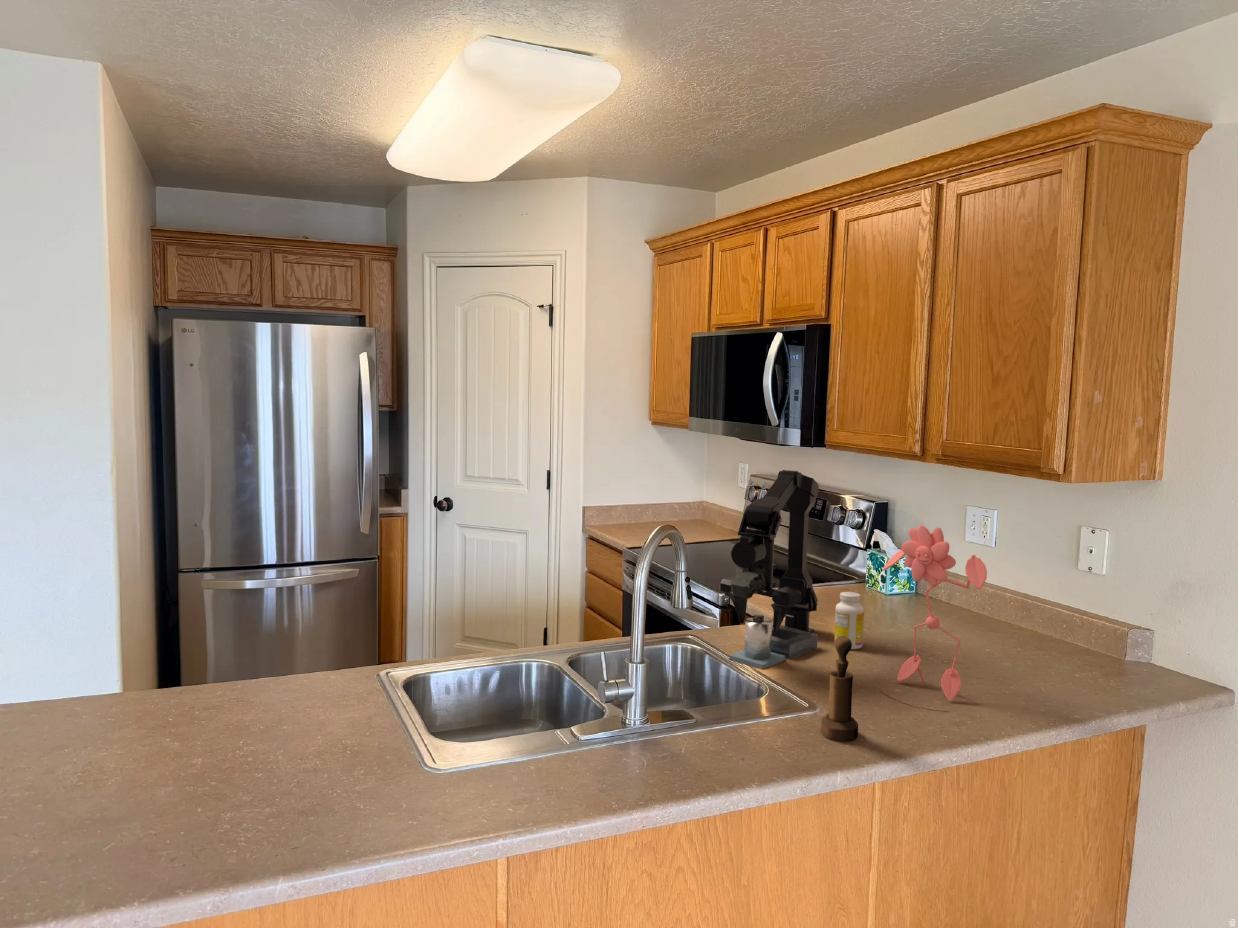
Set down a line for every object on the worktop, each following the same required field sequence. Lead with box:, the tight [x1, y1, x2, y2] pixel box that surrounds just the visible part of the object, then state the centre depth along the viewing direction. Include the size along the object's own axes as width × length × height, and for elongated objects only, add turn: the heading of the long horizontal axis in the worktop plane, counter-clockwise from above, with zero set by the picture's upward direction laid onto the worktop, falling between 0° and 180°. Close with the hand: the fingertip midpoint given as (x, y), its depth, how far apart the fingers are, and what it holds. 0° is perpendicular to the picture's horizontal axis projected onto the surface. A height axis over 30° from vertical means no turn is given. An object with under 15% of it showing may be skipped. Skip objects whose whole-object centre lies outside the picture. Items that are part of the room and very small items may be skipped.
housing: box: [771, 624, 819, 660], centre depth 200 cm, size 12×12×4 cm
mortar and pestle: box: [820, 636, 859, 742], centre depth 151 cm, size 7×6×18 cm
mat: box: [728, 649, 786, 670], centre depth 191 cm, size 9×9×1 cm
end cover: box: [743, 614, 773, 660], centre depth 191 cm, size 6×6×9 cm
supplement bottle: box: [833, 591, 865, 650], centre depth 202 cm, size 7×7×13 cm
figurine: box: [880, 524, 988, 713], centre depth 170 cm, size 15×26×35 cm, turn 30°
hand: (758, 627), depth 191 cm, fingers open, 9 cm apart
